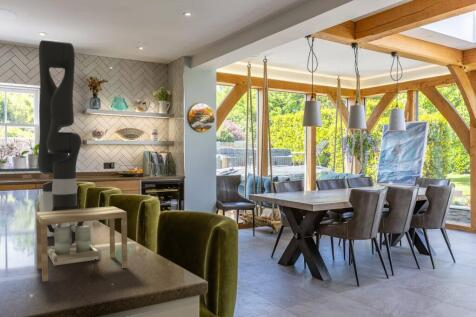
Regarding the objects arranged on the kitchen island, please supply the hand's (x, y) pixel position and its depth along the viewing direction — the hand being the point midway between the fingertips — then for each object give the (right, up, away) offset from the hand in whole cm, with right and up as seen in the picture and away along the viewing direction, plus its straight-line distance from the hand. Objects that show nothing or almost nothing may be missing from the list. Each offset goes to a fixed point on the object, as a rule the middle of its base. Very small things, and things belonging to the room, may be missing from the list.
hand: (65, 243), depth 134 cm
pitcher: (-26, -1, +45) cm, 52 cm away
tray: (+5, -2, -8) cm, 10 cm away
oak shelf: (+15, -2, -24) cm, 28 cm away
